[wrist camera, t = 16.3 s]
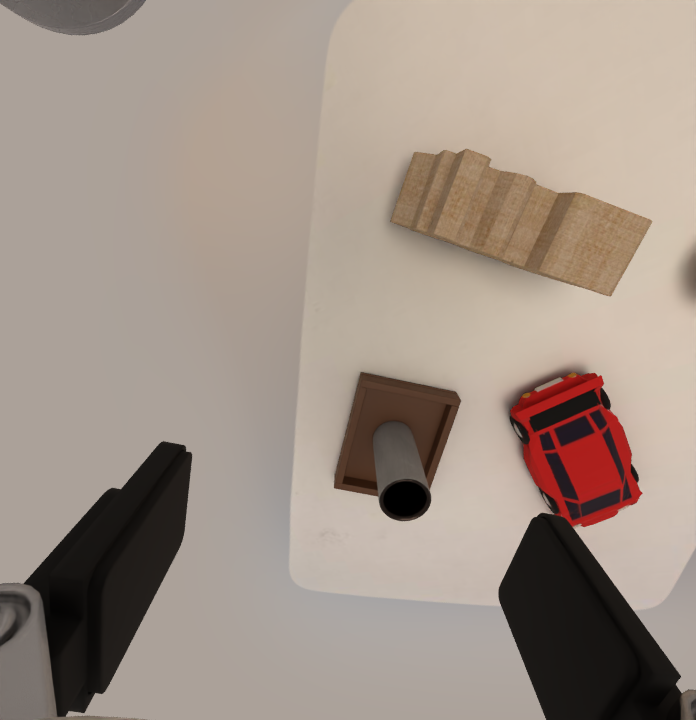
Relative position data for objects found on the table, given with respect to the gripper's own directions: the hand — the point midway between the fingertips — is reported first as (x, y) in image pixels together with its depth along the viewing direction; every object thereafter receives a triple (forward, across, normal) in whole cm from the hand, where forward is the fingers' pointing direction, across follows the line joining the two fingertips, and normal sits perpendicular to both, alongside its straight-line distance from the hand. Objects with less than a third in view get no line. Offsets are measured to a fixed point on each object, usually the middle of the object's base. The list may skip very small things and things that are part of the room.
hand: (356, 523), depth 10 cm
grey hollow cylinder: (+30, -8, +14) cm, 34 cm away
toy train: (+30, -10, -10) cm, 34 cm away
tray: (+30, -8, +14) cm, 34 cm away
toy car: (+30, -28, +11) cm, 43 cm away
